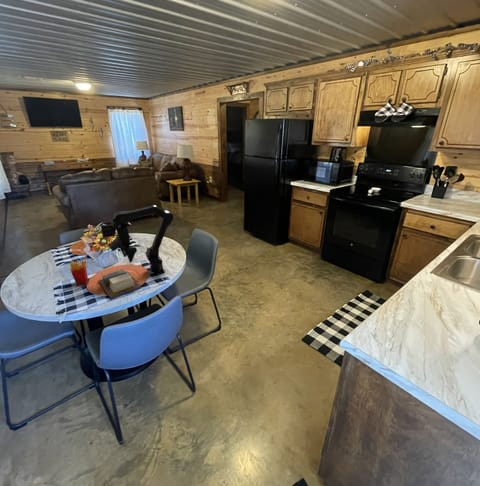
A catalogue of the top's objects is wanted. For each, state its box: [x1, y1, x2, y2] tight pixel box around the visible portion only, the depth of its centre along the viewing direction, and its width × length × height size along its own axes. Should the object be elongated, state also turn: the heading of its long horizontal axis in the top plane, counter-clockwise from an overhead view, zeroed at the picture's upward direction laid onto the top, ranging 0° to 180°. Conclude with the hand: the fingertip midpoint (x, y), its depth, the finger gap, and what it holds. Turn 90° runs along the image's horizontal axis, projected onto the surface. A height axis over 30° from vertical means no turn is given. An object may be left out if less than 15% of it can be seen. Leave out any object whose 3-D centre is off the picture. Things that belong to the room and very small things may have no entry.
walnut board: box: [98, 270, 142, 300], centre depth 148 cm, size 16×22×1 cm
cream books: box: [110, 279, 134, 293], centre depth 143 cm, size 11×6×4 cm, turn 131°
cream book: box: [109, 272, 133, 287], centre depth 142 cm, size 10×6×2 cm, turn 131°
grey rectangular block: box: [102, 268, 127, 284], centre depth 151 cm, size 12×5×4 cm, turn 131°
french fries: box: [69, 259, 89, 287], centre depth 146 cm, size 9×8×15 cm
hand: (127, 259), depth 151 cm, fingers open, 9 cm apart
